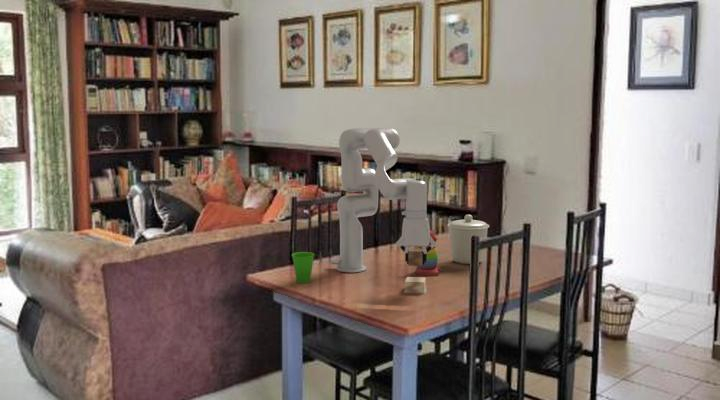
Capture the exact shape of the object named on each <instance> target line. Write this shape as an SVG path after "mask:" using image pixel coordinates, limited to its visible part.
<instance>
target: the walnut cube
mask: <svg viewBox="0 0 720 400" xmlns="http://www.w3.org/2000/svg"><path fill="white" fill-rule="evenodd" d="M422 258H423V250H417V249H410V248H409V252H408V264H407V265H408V267H417V266H422V265H423V264H422Z"/></svg>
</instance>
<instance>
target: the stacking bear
mask: <svg viewBox="0 0 720 400" xmlns="http://www.w3.org/2000/svg"><path fill="white" fill-rule="evenodd" d="M430 236H431V238H432V239H433V240H434V241H435V243H436V242H437V240H438V236H437V235H435V233H434V231H432V230H430ZM430 245H431V243H429V245H428V246H430ZM428 246H426V247H428ZM416 250H423V248H422V247H421V246H416ZM438 262H439V251H438V249H437V245H436V246H435V247H433V248H432V249H431V250H430V251H429V252H428V253H427V262H425V264H424V265H422V266H416V269H415V273H416V274H418V275H423V276H432V277H434V276H439V275H440V272H441V267H440V266H438Z"/></svg>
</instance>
